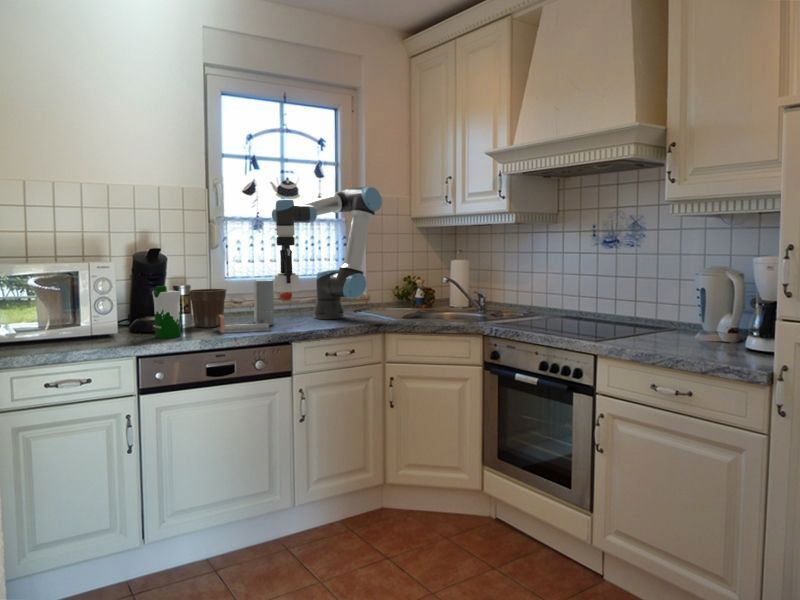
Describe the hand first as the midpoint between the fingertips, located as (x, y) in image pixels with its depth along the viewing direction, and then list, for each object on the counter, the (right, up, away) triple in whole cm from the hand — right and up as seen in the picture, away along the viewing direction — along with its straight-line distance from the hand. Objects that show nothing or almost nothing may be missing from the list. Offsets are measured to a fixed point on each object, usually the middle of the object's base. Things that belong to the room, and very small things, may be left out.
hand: (286, 290), depth 262 cm
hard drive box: (-13, -15, +17) cm, 26 cm away
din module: (0, 0, 0) cm, 0 cm away
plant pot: (-36, -16, +9) cm, 40 cm away
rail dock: (-17, -17, -5) cm, 24 cm away
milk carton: (-42, -19, -22) cm, 51 cm away
